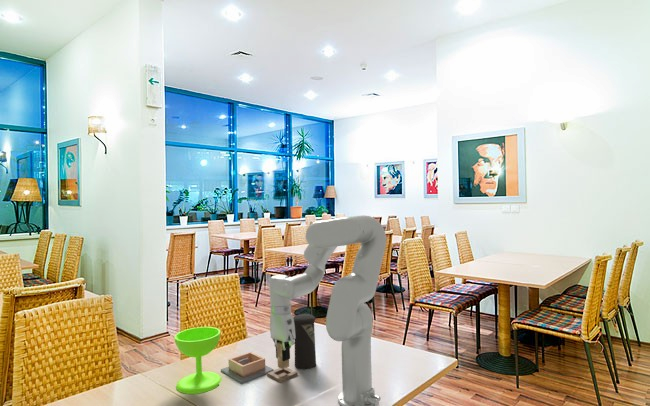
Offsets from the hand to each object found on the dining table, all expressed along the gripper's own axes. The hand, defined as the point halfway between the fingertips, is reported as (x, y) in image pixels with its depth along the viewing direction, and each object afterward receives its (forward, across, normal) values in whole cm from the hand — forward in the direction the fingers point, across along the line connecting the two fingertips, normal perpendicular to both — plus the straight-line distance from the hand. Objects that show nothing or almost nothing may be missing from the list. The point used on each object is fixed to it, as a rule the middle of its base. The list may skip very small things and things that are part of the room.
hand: (283, 358), depth 149 cm
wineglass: (+7, +19, +24) cm, 31 cm away
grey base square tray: (+7, +14, +7) cm, 17 cm away
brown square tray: (+7, +1, 0) cm, 7 cm away
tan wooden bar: (+3, 0, 0) cm, 3 cm away
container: (+7, +2, -12) cm, 14 cm away
